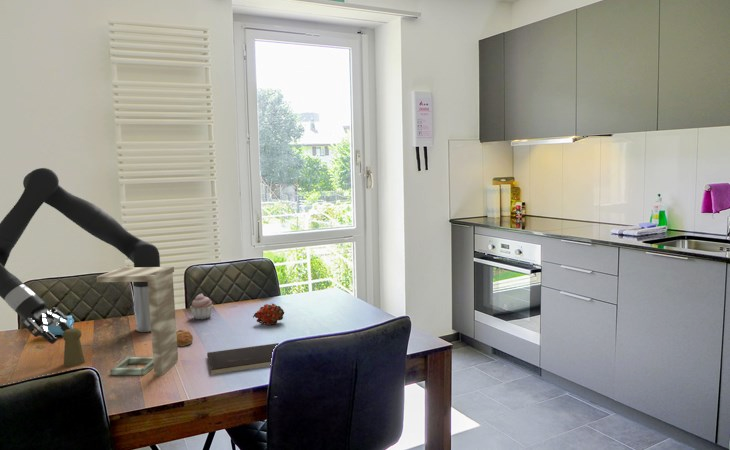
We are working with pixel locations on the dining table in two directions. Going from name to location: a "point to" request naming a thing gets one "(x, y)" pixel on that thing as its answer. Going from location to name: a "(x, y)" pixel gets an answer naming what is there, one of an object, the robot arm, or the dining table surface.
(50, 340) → the robot arm
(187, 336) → the pastry
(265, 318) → the dragon fruit
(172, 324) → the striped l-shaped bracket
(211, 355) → the hardcover book
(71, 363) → the olive brown pepper mill
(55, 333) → the teapot
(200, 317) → the cupcake
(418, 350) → the dining table surface
